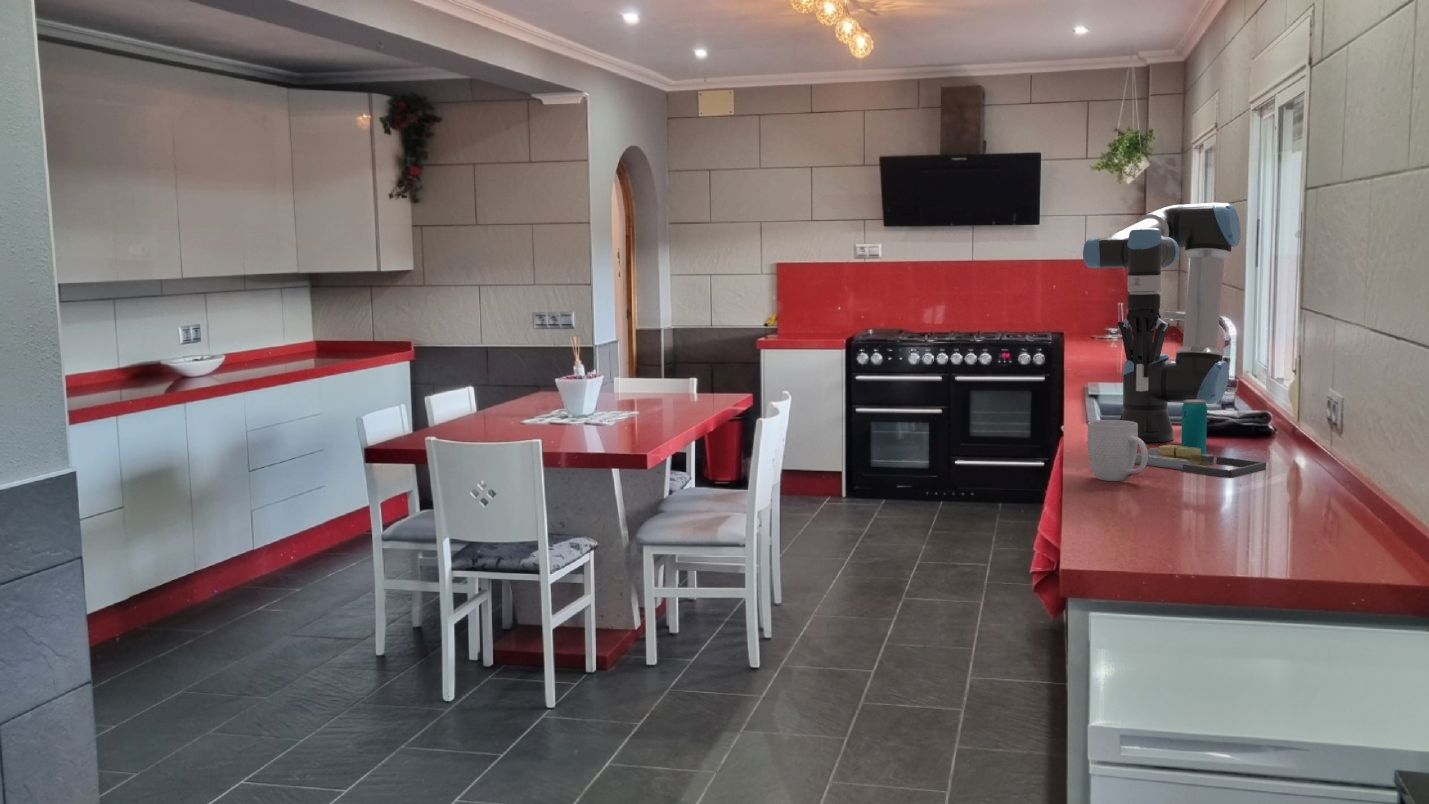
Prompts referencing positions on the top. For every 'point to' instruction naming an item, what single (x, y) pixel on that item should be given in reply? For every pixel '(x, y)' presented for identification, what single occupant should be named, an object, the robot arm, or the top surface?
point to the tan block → (1168, 450)
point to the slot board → (1171, 460)
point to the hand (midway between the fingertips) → (1142, 390)
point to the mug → (1114, 449)
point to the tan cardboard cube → (1189, 454)
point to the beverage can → (1194, 424)
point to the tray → (1245, 469)
